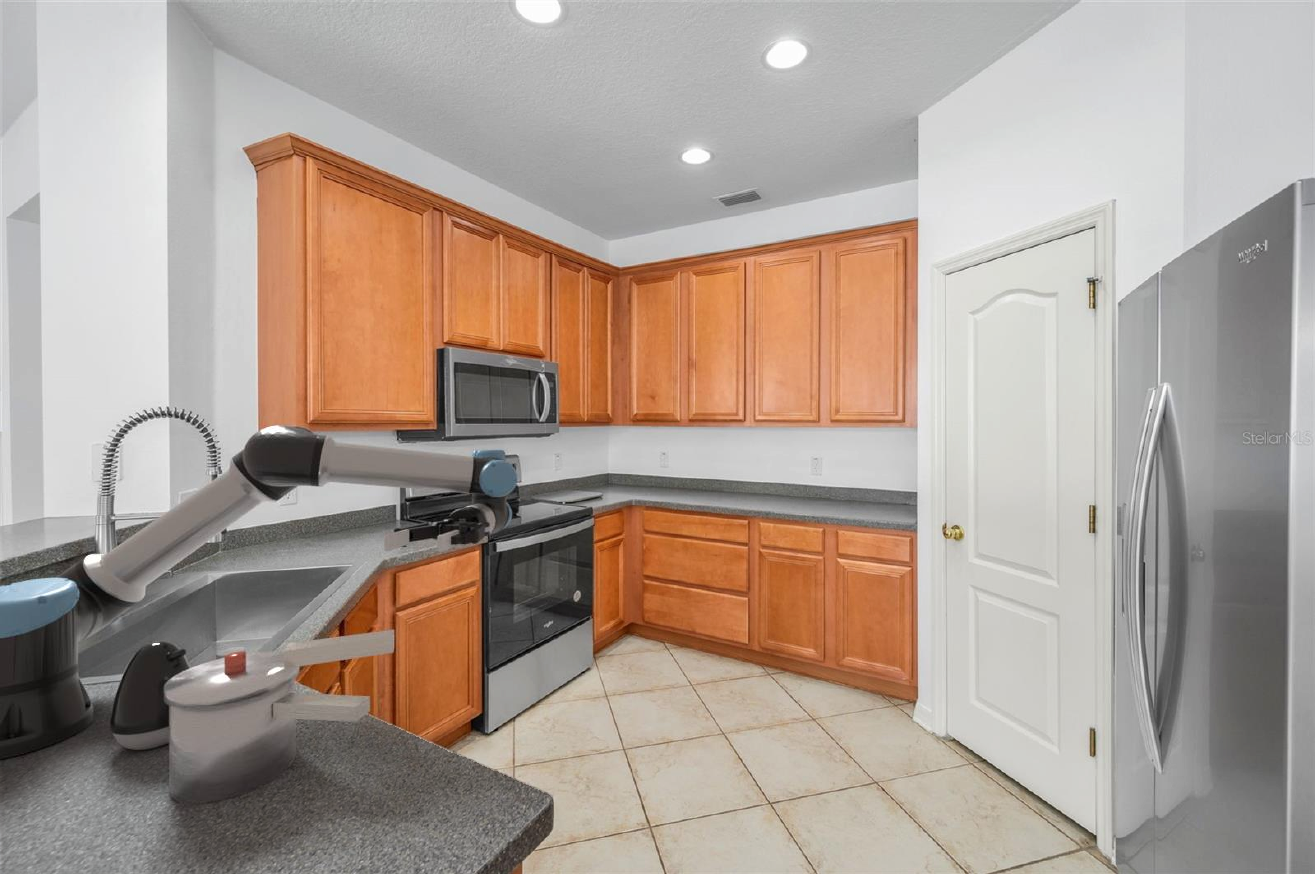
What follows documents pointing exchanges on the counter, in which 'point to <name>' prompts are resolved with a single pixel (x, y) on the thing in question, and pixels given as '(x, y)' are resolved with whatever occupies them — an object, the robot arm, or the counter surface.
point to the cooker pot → (244, 741)
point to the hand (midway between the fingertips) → (412, 543)
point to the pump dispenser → (146, 696)
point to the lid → (265, 669)
